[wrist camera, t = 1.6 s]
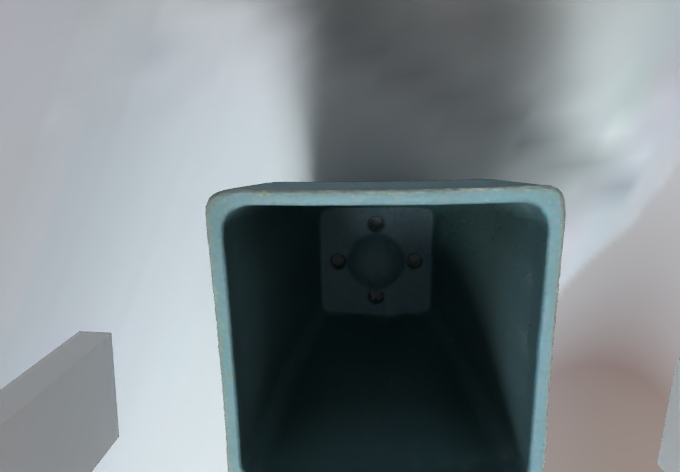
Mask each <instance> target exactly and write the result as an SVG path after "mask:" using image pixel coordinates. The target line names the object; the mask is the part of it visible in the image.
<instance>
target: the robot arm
mask: <svg viewBox="0 0 680 472" xmlns="http://www.w3.org/2000/svg"><path fill="white" fill-rule="evenodd" d="M118 437H119V430H118V417H117V403H116V390H115V376H114V363H113V349H112V336H111V333H105V332H83V331H79V332H78V333H77V334H75V335H74V336H73V337H71V338H70V339H69V340H67V341H66V342H64V343H63V344H62V345H60V346H59V347H58V348H56V349H55V350H54V351H52V352H51V353H50V354H48V355H47V356H46V357H44V358H43V359H42V360H40V361H39V362H38V363H36V364H35V365H33V366H32V367H31V368H29V369H28V370H27V371H25V372H24V373H23V374H21V375H20V376H19V377H17V378H16V379H15V380H13V381H12V382H11V383H9V384H8V385H6V386H5V387H4V388H2V389H1V390H0V472H92V471H93V469H94V468H95V467H96V465H97V464H98V463H99V462H100V460H101V459H102V458H103V456H104V455H105V454H106V452H107V451H108V450H109V449H110V447H111V446H112V445H113V443H114V442H115V441H116V440H117V438H118ZM657 464H658V465H659V467H660V468H661V469H662V470H663V471H664V472H680V358H677V362H676V367H675V373H674V378H673V383H672V388H671V394H670V399H669V404H668V410H667V415H666V420H665V425H664V430H663V436H662V441H661V446H660V452H659V457H658V462H657Z"/></svg>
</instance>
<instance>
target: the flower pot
mask: <svg viewBox="0 0 680 472" xmlns="http://www.w3.org/2000/svg"><path fill="white" fill-rule="evenodd" d="M374 217H378V218H380V219H381V220H382V226H381V227H380V228H379V229H373V228H372V227H371V226H370V220H371V219H372V218H374ZM206 226H207V239H208V244H209V254H210V263H211V273H212V284H213V293H214V301H215V313H216V321H217V331H218V341H219V345H218V348H219V355H220V365H221V375H222V385H223V401H224V412H225V425H226V440H227V463H228V472H544V466H545V462H544V461H545V451H546V434H547V416H548V414H547V413H548V402H549V383H550V377H551V363H552V346H553V340H554V329H555V323H556V309H557V297H558V292H559V277H560V268H561V256H562V248H563V237H564V229H565V202H564V197H563V194H562V192H561V191H560V190H559V189H558V188H555V187H552V186H548V185H537V184H528V183H519V182H510V181H501V180H491V179H466V180H433V181H391V182H272V183H264V184H258V185H251V186H245V187H239V188H233V189H228V190H223V191H220V192H217V193H215V194H213V195H212V196H211V197H210V198H209V200H208V202H207V205H206ZM337 254H340V255H342V256H343V257H344V263H343V264H342V265H341V266H338V265H335V264H334V263H333V257H334V256H335V255H337ZM411 254H417V255H419V256H420V259H421V260H420V262H419V263H418V264H417V265H416V266H413V265H411V264H409V262H408V257H409V256H410V255H411ZM375 290H379V291H381V292H382V298H381V299H379V300H373V299H372V298H371V292H373V291H375Z"/></svg>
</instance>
